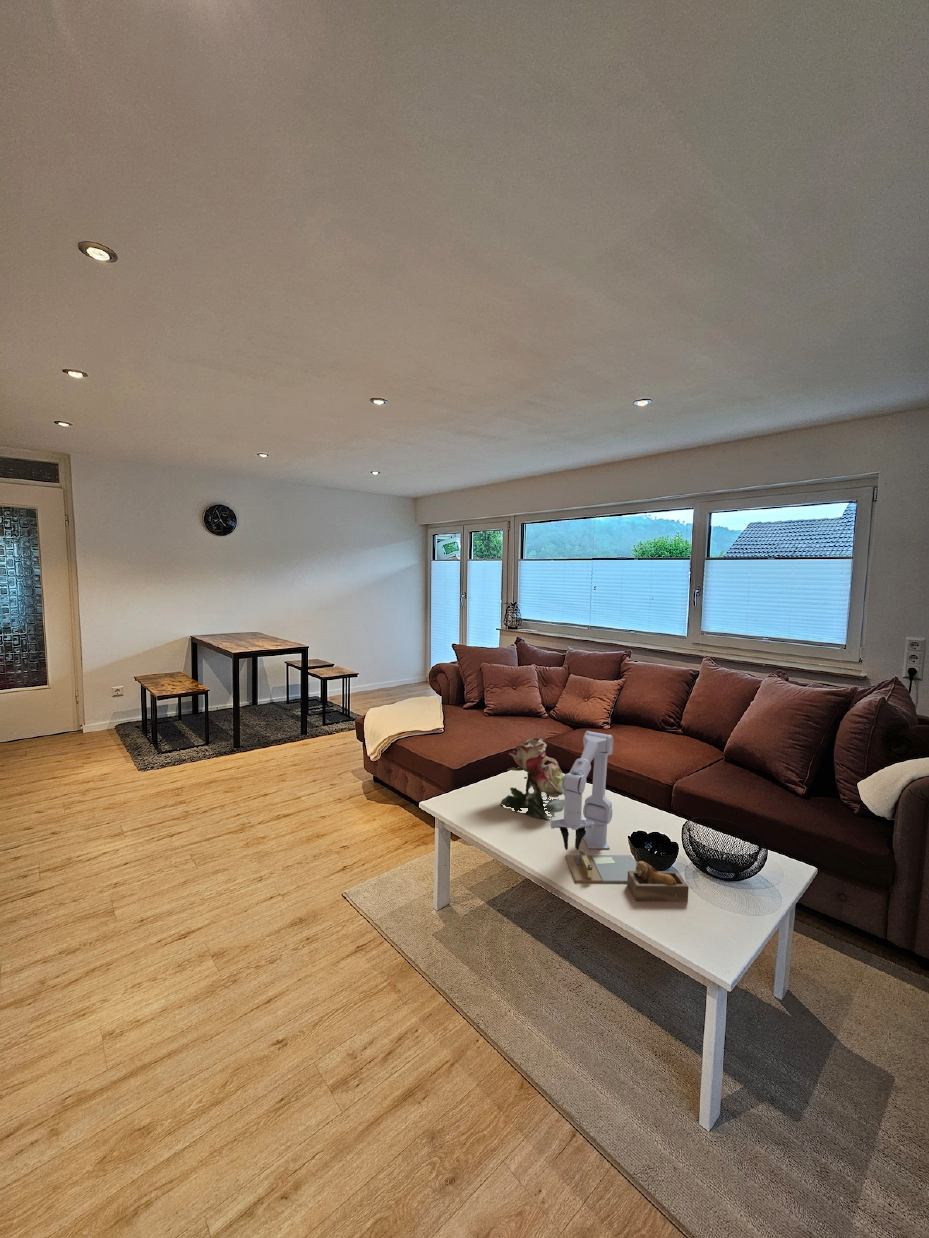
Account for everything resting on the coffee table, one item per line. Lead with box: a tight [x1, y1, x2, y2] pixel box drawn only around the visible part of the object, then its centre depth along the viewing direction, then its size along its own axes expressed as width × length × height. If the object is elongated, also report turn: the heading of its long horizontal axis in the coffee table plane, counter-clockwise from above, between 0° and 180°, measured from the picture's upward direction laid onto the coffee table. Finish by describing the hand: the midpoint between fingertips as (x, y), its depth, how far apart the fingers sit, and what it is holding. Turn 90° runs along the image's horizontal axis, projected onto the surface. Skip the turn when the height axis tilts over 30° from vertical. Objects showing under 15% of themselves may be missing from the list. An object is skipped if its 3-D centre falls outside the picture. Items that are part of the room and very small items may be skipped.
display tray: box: [626, 870, 690, 903], centre depth 165 cm, size 8×16×5 cm, turn 91°
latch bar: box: [581, 854, 594, 877], centre depth 175 cm, size 10×2×3 cm, turn 1°
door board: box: [564, 849, 637, 884], centre depth 178 cm, size 16×24×4 cm, turn 91°
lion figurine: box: [636, 860, 677, 902], centre depth 165 cm, size 15×5×9 cm, turn 66°
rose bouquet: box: [500, 736, 565, 821], centre depth 228 cm, size 26×29×30 cm
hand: (571, 848), depth 173 cm, fingers open, 3 cm apart
